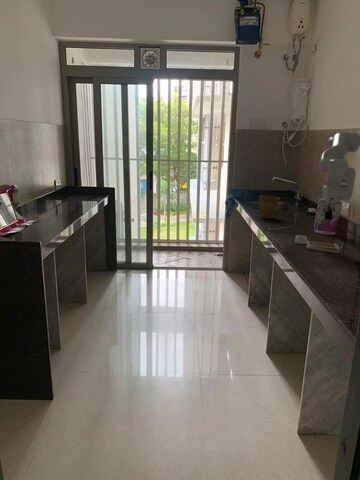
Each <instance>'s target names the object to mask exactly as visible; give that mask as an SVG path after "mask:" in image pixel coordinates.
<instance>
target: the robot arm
mask: <svg viewBox="0 0 360 480" xmlns="http://www.w3.org/2000/svg"><path fill="white" fill-rule="evenodd" d="M359 149H360V133H359V132H351V131H350V132H347V131H346V132H345V131H340V132H337V133H336V134H334V135H333V136H331V137H329V138H328V141H327V149H326V150H324V151H323V153H321V156H320V159H319V163H318V169H319V171H320V172H321V173H326V179H325V184H323V186H322V189H321V195H322V196H321V199H325V206H326V205H327V211H326V214H325V219H329V220H331V219H332V213H333V205H334V206H335V204H336V201H346V202H347V201H350V200H351V199H352V197H353V192H354V187H355V180H356V175H357V174H356V172H357V171H356V169H355V168H354V167H349V162H348V161H347V160H346V157H345V156H346V155H347V154H348V152H349V153H355V152H357V151H358V150H359ZM342 183H344V184H342ZM329 205H330V206H329ZM328 208H329V209H328ZM313 232H314V233H317V234H320V235H326V236H327V235H328V236H333V235H335V234H336V232H328V231H320V230H313Z"/></svg>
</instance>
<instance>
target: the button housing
mask: <svg viewBox="0 0 360 480" xmlns="http://www.w3.org/2000/svg"><path fill="white" fill-rule="evenodd" d="M306 241H308V239H307V236H305V239H304V238H298V235H295V238H294V242H295V244H302V245H306Z"/></svg>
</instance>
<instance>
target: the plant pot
mask: <svg viewBox="0 0 360 480" xmlns="http://www.w3.org/2000/svg"><path fill="white" fill-rule="evenodd" d="M258 197H259V198H258V199H259V200H258V201H259V202H258V203H259V210H260V216H261V219H272V218H273V216H274V215H275V212H276V211H277V207H278V205H279V203H280V197H279V196H275V195H274V196H273V195H264V194H263V195H260V194H259V196H258Z"/></svg>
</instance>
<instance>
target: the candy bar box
mask: <svg viewBox="0 0 360 480" xmlns="http://www.w3.org/2000/svg"><path fill="white" fill-rule="evenodd" d="M342 204H343V202H342V200H336V204H335V206H334V205H333V213H332V219H331V220H329V219H325V214H326V211H327V205H326V206H325V199H322V198H319V199H318V202H317V208H316V213H315V220H314V225H313V229H314V230H320V231H328V232H335V233H337V230H338V225H339V219H340V214H341V210H342V206H343V205H342ZM329 206H330V205H329ZM328 209H329V208H328ZM314 230H313V231H314Z"/></svg>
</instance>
